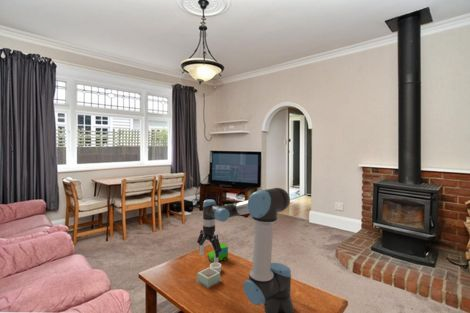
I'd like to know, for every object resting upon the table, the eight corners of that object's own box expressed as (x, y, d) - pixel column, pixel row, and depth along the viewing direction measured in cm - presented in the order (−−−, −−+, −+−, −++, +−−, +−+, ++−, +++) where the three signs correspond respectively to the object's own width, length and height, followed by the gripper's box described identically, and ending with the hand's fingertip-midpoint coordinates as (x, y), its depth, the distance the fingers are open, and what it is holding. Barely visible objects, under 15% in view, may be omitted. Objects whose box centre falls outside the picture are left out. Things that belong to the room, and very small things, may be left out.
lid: (220, 280, 156) (220, 272, 156) (207, 287, 149) (208, 278, 149) (209, 274, 163) (209, 266, 163) (197, 280, 156) (197, 272, 156)
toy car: (206, 258, 186) (206, 245, 186) (223, 255, 192) (223, 242, 191) (211, 264, 177) (211, 250, 177) (228, 260, 183) (228, 247, 182)
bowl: (223, 270, 169) (223, 265, 168) (215, 275, 163) (215, 269, 163) (215, 266, 174) (215, 261, 173) (207, 270, 168) (207, 265, 168)
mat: (222, 280, 157) (222, 280, 157) (207, 288, 148) (207, 288, 148) (209, 273, 165) (209, 273, 165) (195, 281, 156) (195, 280, 156)
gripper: (227, 228, 148) (227, 263, 150) (200, 218, 165) (200, 250, 167) (218, 231, 143) (218, 267, 144) (191, 221, 160) (191, 253, 161)
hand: (208, 258), depth 156 cm, fingers open, 13 cm apart
